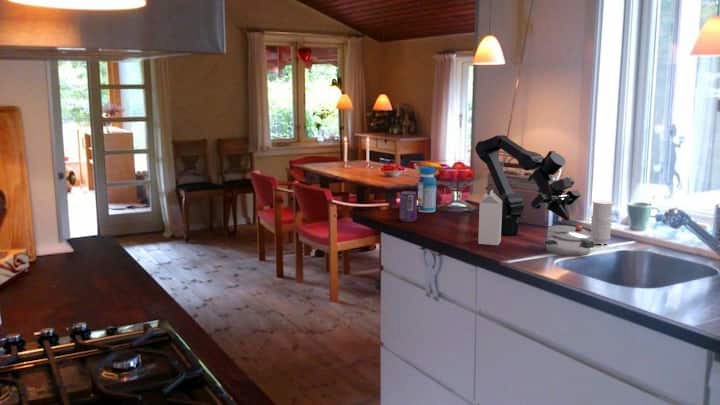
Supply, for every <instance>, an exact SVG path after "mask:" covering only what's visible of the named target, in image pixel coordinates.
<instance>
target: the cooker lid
mask: <svg viewBox="0 0 720 405" xmlns="http://www.w3.org/2000/svg"><path fill="white" fill-rule="evenodd" d="M546 232H547V235H548V234H549V235H551V236H553V237H556V238H560V239H564V240H571V241H586V240H589V239H590V240H591V239H592V238H591V236H592V234H591V231H589V230H587V229H584V228H583V226H582V225H578V224H577V225H576V226H574V225H573V226H572V225H564V224H563V225H562V224H561V225H551V226H548V227H547V231H546Z"/></svg>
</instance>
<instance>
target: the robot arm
mask: <svg viewBox="0 0 720 405" xmlns="http://www.w3.org/2000/svg"><path fill="white" fill-rule="evenodd" d="M500 150H502V151H504V152H505V153H507V154H508V155H509V156H511V157H513V158H514V159H515V160H516V161H517V164H518V165H519V166H520V167H521V168H522V169H523V170H524V171H526V172H528V171H529V172H530V171H533V172H532V173H529V176H528V178H527V182H535V184H536V187H538V190H537V193H538V194H537V195H536V196H534V199H533V200H532V201H531V202H530V204H531V205H530V206H531V207H532V209H533V210H540V209H541V207H542V206H541V205H544V204H545V205H546V204H547V207H546V208H545V209H546V211H550V212H552V213H553V214H555V215H557V216H558V217H560V218H562V219H563V220H565V221H569V220H570V218H571V217H570V213H569V209H568V206H572V205H573V204H574V203H575V202H576V201H577V200H578V199H579V198H580V197H581V194H580V192H579V190H577V189H576V190H575V189H574V190H568V189H570V188H573V186H574V185H575V181H574V179H573V178H572V177H571V176H566V177H564V178H561V179H558V180H557V179H555V180H554V179H553V177H552V176H555V175H556V174H557V173H558V172H559V171H560V170H561V169H562V168H563V167H564V165H566V159H565V158H564V156H562V155H561V154H559V153H557V151H555V150H549V151H548V153H547V154H546V155H545V157H544V156H543V155H542V154H541V153H538V152H535V151H531V150H527V149H526V148H524V147H522V145H519V144H518V143H516V142H515V141H513V140H512V139H510V138H509V137H508V136H506V135H504V134H501V135H494V136H493V137H491V138H487V139H485V140H479V141H478V142H477V143H476V145H475V153H476V155H477V157H478V158H479V160H481V161H482V162H484V163H485V164H486V167H487V168H488V171H489V173H490V176H491V178H492V180H493V182H494V184H495V187H496V190H497V193H498V194H499V198H500V199H501V200H502V222H501V236H514V237H515V236H516V237H517V234H518V233H519V222H518V220H517V219H521V218H522V215H523V211H524V209H525V204H524V202H525V201H524V199H523V198H522V195H521V193H520V192H515V191H513V188H512V187H511V185H510V183H509V180H508V178H507V175H506V173H505V171H504V169H503V167H502V164H501V162H500V160H499V156H500ZM566 189H567V192H566ZM564 193H565V194H564ZM563 194H564V195H563Z"/></svg>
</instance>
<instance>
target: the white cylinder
mask: <svg viewBox="0 0 720 405" xmlns="http://www.w3.org/2000/svg"><path fill="white" fill-rule="evenodd" d="M613 204H614V202H612V201H610V200H602V199H601V200H599V199H598V200H597V199H596V200H593V201H592V216H590V218H591V220H590V222H591V223H590V228H591V231H590V233H591V234H592V236H591V239H592V240H591V241H593V242H594V244H593V245H596V244H608V243H609V241H608V240H610V239H611V229H612V219H613V218H612V211H613V210H612V208H613ZM608 245H609V244H608Z"/></svg>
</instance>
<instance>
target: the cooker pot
mask: <svg viewBox="0 0 720 405" xmlns="http://www.w3.org/2000/svg"><path fill="white" fill-rule="evenodd" d="M544 244H545V245H546V251H547V252H549V253H551V254H555V255H560V256H568V257H583V256H587V255H589V254H590V252H591V251H590V250H591V249H592V248H594V245H595V244H594V242H593V241H592V240H591V239H589V240H586V241H571V240H564V239H560V238H556V237H553V236H551V235H549V234H548V233H547V238H546V240H544Z"/></svg>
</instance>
